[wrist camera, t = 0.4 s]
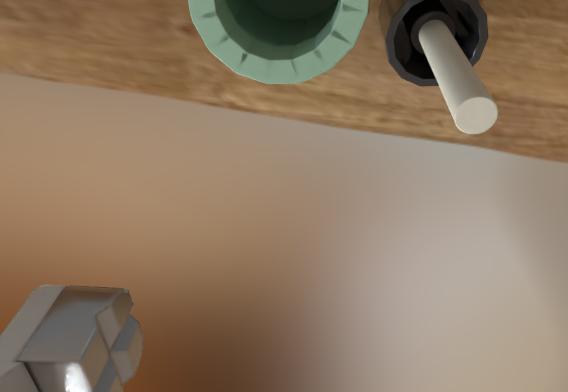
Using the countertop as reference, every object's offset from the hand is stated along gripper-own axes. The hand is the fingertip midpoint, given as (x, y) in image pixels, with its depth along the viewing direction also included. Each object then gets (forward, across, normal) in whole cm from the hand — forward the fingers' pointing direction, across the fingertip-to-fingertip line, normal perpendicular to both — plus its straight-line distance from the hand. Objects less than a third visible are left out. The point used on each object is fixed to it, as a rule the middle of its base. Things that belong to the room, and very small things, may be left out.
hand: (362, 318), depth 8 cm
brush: (+31, -6, +3) cm, 32 cm away
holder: (+32, -6, +3) cm, 33 cm away
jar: (+32, +4, -1) cm, 32 cm away
